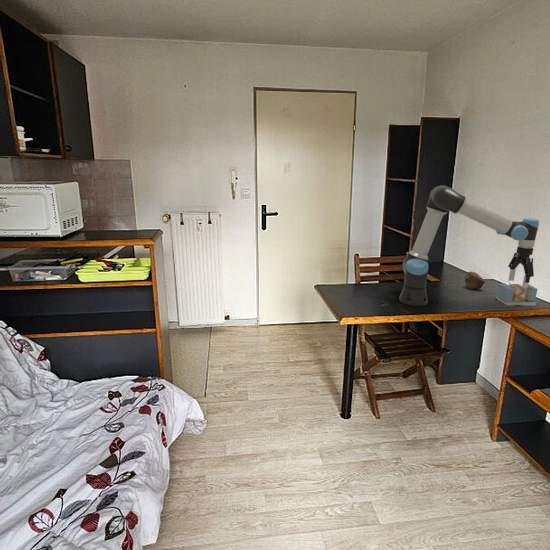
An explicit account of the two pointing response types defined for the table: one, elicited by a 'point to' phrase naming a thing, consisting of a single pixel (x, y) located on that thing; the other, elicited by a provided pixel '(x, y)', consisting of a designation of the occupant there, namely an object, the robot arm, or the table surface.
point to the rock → (474, 281)
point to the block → (518, 292)
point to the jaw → (505, 292)
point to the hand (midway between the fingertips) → (517, 284)
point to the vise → (528, 300)
